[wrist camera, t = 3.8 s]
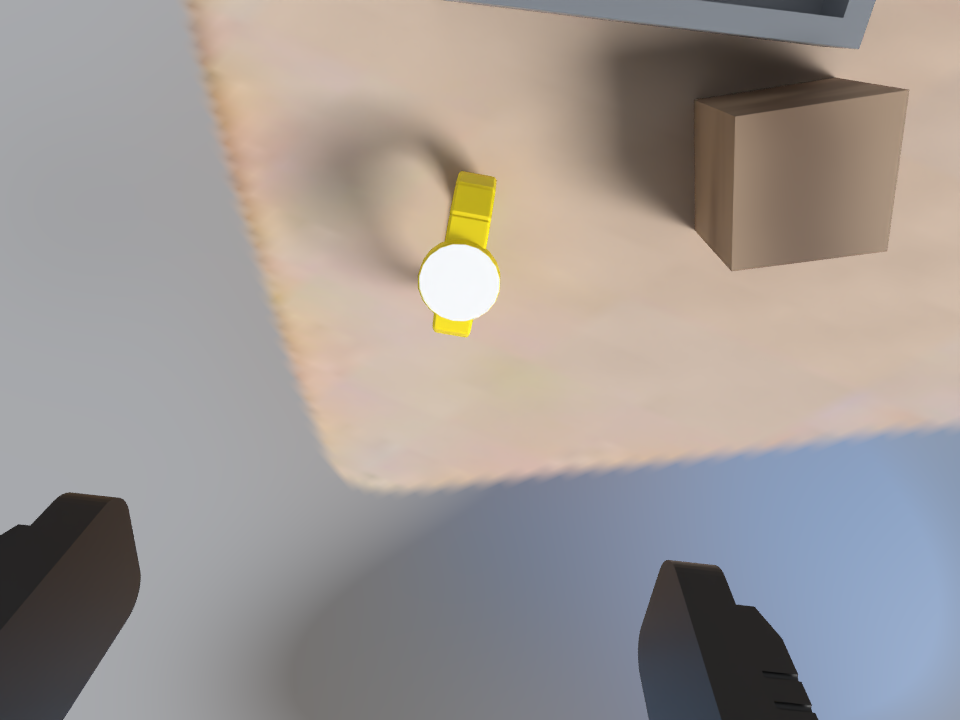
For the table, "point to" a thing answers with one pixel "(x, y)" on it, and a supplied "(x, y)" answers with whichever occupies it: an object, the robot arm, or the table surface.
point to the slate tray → (724, 16)
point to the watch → (462, 260)
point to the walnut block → (797, 171)
